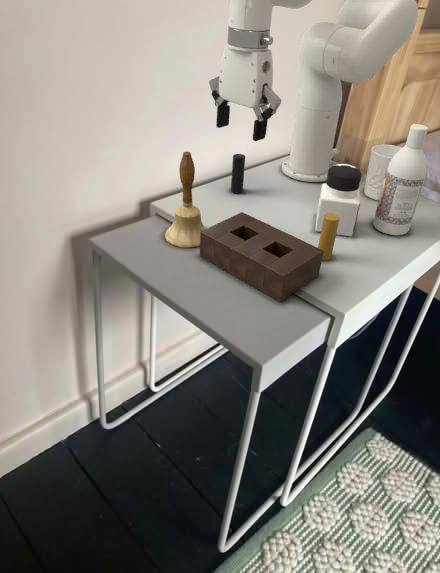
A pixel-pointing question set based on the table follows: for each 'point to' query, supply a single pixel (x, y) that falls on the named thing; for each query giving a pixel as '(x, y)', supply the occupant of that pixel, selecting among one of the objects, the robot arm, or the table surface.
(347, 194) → the medicine bottle
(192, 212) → the hand bell
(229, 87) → the robot arm
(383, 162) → the white cup
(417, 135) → the bath foam
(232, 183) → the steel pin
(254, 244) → the pin block
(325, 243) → the brass pin
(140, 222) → the table surface
